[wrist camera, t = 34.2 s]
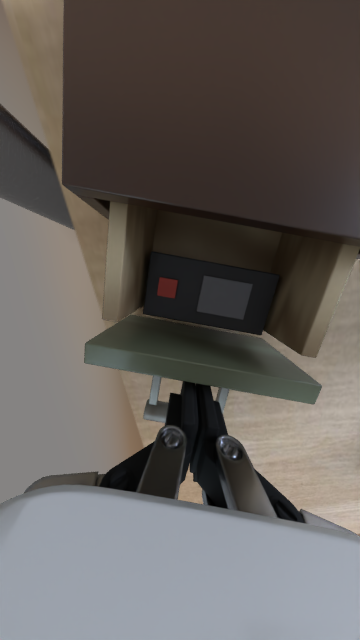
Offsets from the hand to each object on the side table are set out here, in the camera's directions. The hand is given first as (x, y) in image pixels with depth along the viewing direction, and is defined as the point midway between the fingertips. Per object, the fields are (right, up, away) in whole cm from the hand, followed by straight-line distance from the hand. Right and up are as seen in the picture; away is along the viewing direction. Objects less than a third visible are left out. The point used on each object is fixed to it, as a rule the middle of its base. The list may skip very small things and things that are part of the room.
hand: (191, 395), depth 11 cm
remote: (+1, +7, +2) cm, 8 cm away
